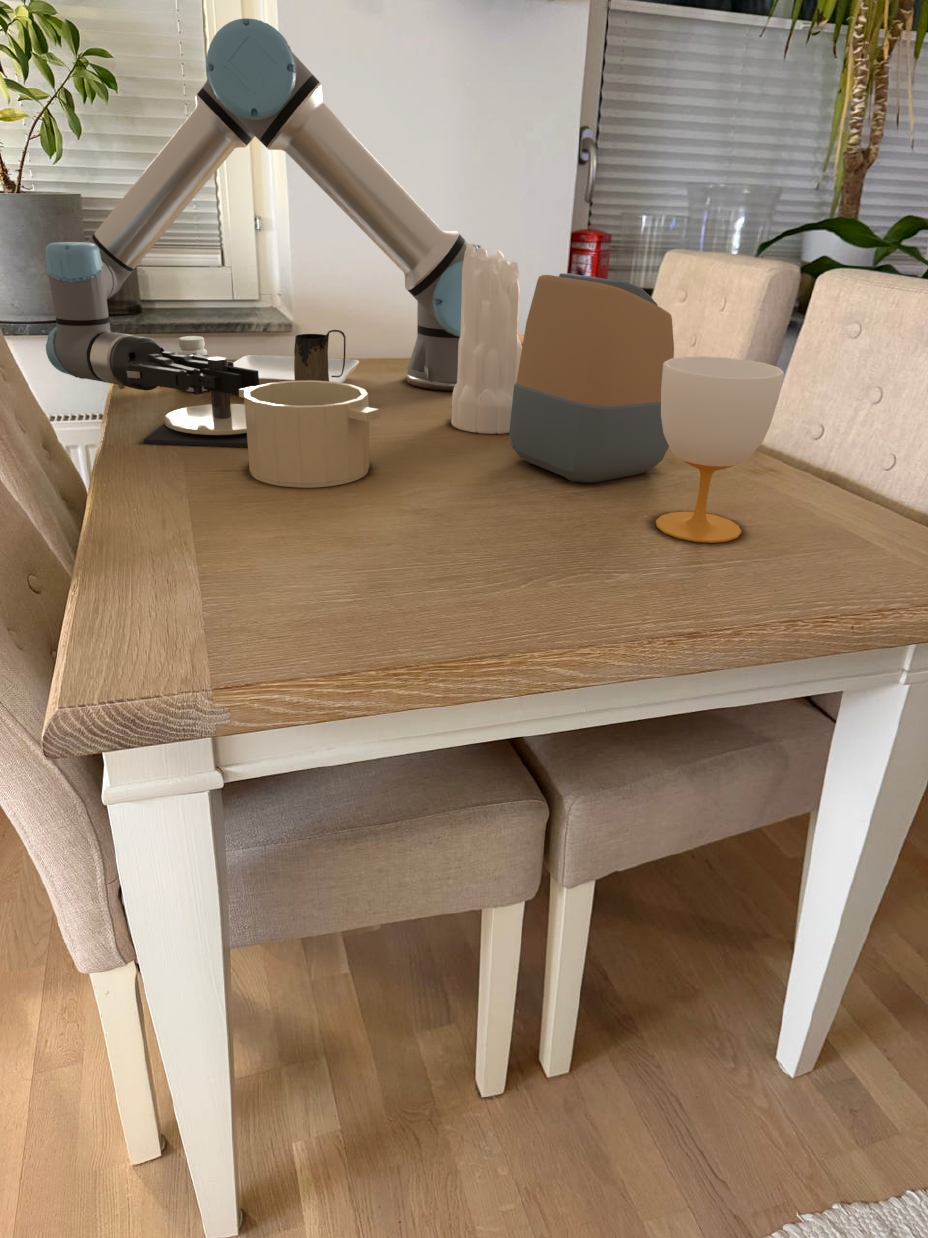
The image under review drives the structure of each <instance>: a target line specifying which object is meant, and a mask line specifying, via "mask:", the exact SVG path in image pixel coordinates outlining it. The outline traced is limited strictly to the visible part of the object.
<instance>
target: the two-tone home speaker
mask: <svg viewBox="0 0 928 1238" xmlns="http://www.w3.org/2000/svg"><path fill="white" fill-rule="evenodd" d="M529 308H530V309H529V310H528V315H527V318H526V321H525V322H526V323H525V329H524V334H523V335H524V340H523V346H522V352H521V358H520V364H519V370H518V376H517V382H516V384H515V385H514V391H513V401H512V411H511V421H510V431H509V433H508V434H509V437H510V441H511V445H512V448H513V450H514V451H515V452H516V454H517V455H518V456H519V457H520V458H521V459H522V460H524V461H525V462H526V463H528V464H529V465H534V466H537V467H539V468H542V469H544V470H547V471H550V472H551V473H554V474H557V475H559V476H562V477H564V478H565V479H566V480H567V481H569V482H573V483H581V484H591V483H602V482H606V481H611V480H617V479H621V478H626V477H632V476H638V475H640V474H643V473H645V472H648V471H650V470H653V469H654V468H655V467H656V466H658V465H659V464H660V463H661V462H662V461H663V459H664V457H665V455H666V453H667V452H668V450H669V448H670V447H669V445H668V443H667V441H666V438H665V436H664V433H663V427H662V420H661V384H662V373H663V363H664V362H665V361H667V360H669V359H673V358H675V342H674V329H673V318H672V314H671V313H670V312H669V311H667V310H666V309H664V308H663V307H660V305H658V303H657V302H656V301H655V299H654V298H653V297H652V296H651V295H649V294H648V293H647V292H646V291H645V290H644V289H642V288H641V287H639V286H637V285H635V284H633V283H630V282H626V281H621V280H617V279H616V280H615V279H610V278H602V277H596V276H588V275H582V274H576V273H559V275H558V276H557V275H552V274H541V275H539V277H538V278H537V280H536V284H535V289H534V293H533V296H532V300H531V304H530V307H529Z"/></svg>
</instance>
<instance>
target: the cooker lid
mask: <svg viewBox="0 0 928 1238" xmlns="http://www.w3.org/2000/svg"><path fill="white" fill-rule="evenodd" d="M209 357H210V358H208V369H213V370H219V371H225V372H228V365H227V361H228V358H227V357H224V356H209ZM209 391H210V402H211V404H200V405H193V406H187V407H182V408H178V409H175V410H173V411H170V412H168V413H166V415H164V417H163V424H165V425H166V426H167V427H169V428H170V429H173V430H176V431H180V432H185V433H192V434H201V435H236V434H244V433H247V429H246V417H245V404H244V403H231V394H228V393H223V392H217V391H212V390H209Z"/></svg>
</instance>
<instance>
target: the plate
mask: <svg viewBox="0 0 928 1238" xmlns="http://www.w3.org/2000/svg"><path fill="white" fill-rule="evenodd" d="M343 359H344V358H331V357H330V358H329V357H328V374H329V381H330V382H339V383H345V382H346V381H347V378H348V377H349V375H351V374H352V373H353V372H354V371H355V370H356V368H357V366H358V365H359V363H360V361H359V360H358V359H348V358H347V359H346V358H345V367H344V371H343V374H342V369H343ZM232 362H233V365H234V367H239V368H245V369H251V370H256V371H258V376H259V385H263V384H267V383H274V382H284V381H295V376H294V356H289V355H259V354H257V355H256V354H255V355H253V354H252V355H251V354H250V355H249V354H248V355H247V354H246V355H243V356H242V357H240V358H238V359H237V360H234V361H232ZM341 374H342V376H340V377H339V378H338V377H331V376H339V375H341Z"/></svg>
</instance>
